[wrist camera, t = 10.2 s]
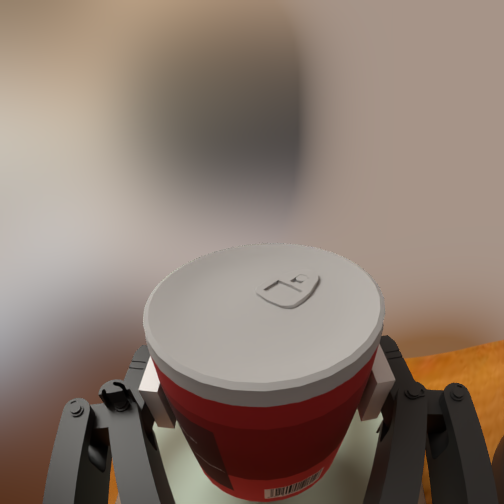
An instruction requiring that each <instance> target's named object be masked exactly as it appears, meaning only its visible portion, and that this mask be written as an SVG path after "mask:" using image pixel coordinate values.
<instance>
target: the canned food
mask: <svg viewBox="0 0 504 504" xmlns="http://www.w3.org/2000/svg"><path fill="white" fill-rule="evenodd" d="M384 316H385V305H384V297H383V295H382V293H381V290H380V288H379V286H378V284H377V283H376V282H375V280H374V279H373V278H372V277H371V275H370V274H368V273H367V272H366V271H365V270H364V269H363V268H361V267H360V266H359V265H357V264H355V263H354V262H352V261H350V260H349V259H347V258H345V257H342V256H340V255H337V254H335V253H332V252H329V251H326V250H322V249H319V248H314V247H309V246H302V245H296V244H284V243H263V244H252V245H244V246H238V247H232V248H228V249H224V250H220V251H216V252H213V253H210V254H208V255H205V256H202V257H199V258H197V259H195V260H193V261H191V262H189V263H187V264H185V265H182V266H181V267H179V268H178V269H176V270H175V271H173V272H172V273H170V274H169V275H168V276H167V277H166V278H165V279H163V280H162V281H161V282H160V283H159V284H158V285H157V287H156V288H155V289H154V291H153V292H152V294H151V295H150V296H149V298H148V301H147V304H146V306H145V309H144V318H143V326H144V330H145V334H146V342H147V346H148V349H149V353H150V356H151V359H152V361H153V364H154V367H155V369H156V373H157V376H158V379H159V381H160V384H161V386H162V388H163V391H164V393H165V395H166V398H167V400H168V402H169V405H170V407H171V409H172V411H173V413H174V415H175V418H176V420H177V422H178V424H179V426H180V428H181V430H182V432H183V434H184V436H185V438H186V440H187V442H188V444H189V446H190V448H191V450H192V452H193V454H194V456H195V458H196V459H197V461H198V463H199V465H200V467H201V468H202V470H203V472H204V474H205V475H206V476H207V477H208V479H209V480H210V481H211V482H212V483H213V484H214V485H215V486H217V487H218V488H219V489H221V490H222V491H223V492H225V493H227V494H229V495H232V496H234V497H236V498H240V499H244V500H248V501H255V502H271V501H278V500H284V499H287V498H290V497H293V496H296V495H298V494H300V493H302V492H304V491H305V490H307V489H309V488H311V487H312V486H313V485H314V484H315V483H317V482H318V481H319V480H320V479H321V478H322V477H323V476H324V474H325V473H326V472H327V470H328V469H329V468H330V466H331V464H332V462H333V460H334V458H335V456H336V454H337V452H338V450H339V448H340V446H341V444H342V442H343V439H344V437H345V435H346V433H347V431H348V428H349V426H350V424H351V422H352V419H353V417H354V414H355V412H356V410H357V407H358V405H359V402H360V400H361V397H362V395H363V392H364V389H365V387H366V384H367V381H368V379H369V376H370V373H371V370H372V367H373V364H374V360H375V357H376V353H377V350H378V346H379V343H380V339H381V335H382V331H383V320H384Z"/></svg>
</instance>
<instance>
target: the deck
mask: <svg viewBox="0 0 504 504" xmlns="http://www.w3.org/2000/svg"><path fill="white" fill-rule="evenodd" d="M382 420H383V417H382V414H381V412H380V414H379V416H378V418H377V419H372V420H366V421H361V420H360V416H359V412H358V409H357V410H356V412H355V414H354V417H353V419H352V422H351V424H350V426H349V428H348V431H347V433H346V435H345V437H344V439H343V442H342V444H341V446H340V448H339V450H338V452H337V454H336V456H335V458H334V460H333V462H332V464H331V466H330V468H329V469H328V470H327V472H326V473H325V474H324V476H323V477H322V478H321V479H320V480H319V481H318V482H317V483H315V484H314V485H313V486H312V487H311V488H309V489H307V490H305V491H304V492H302V493H300V494H298V495H296V496H293V497H290V498H287V499H284V500H278V501H271V502H255V501H248V500H244V499H240V498H236V497H234V496H232V495H229V494H227V493H225V492H223V491H222V490H221V489H219V488H218V487H217V486H215V485H214V484H213V483H212V482H211V481H210V480H209V479H208V477H207V476H206V475H205V474H204V472H203V470H202V468H201V467H200V465H199V463H198V461H197V459H196V458H195V456H194V454H193V452H192V450H191V448H190V446H189V444H188V442H187V440H186V438H185V436H184V434H183V432H182V430H181V428H180V426H179V424H178V422H177V420H176V425H175V429H172V428H163V427H158V426H157V424H156V422H155V421H154V425H153V430H154V432H155V435H156V439H157V443H158V447H159V451H160V455H161V458H162V462H163V465H164V469H165V472H166V475H167V479H168V482H169V485H170V488H171V491H172V494H173V497H174V500H175V503H176V504H363V500H364V497H365V493H366V490H367V486H368V482H369V478H370V474H371V470H372V466H373V461H374V457H375V452H376V447H377V442H378V437H379V433H376V431H377V429H378V427H379V425H380V424H381V422H382ZM115 504H121V501H120V497H119V493H118V496H117V500H116V503H115ZM418 504H426V501H425V496H424V491H423V486H422V481H421V488H420V494H419V500H418Z"/></svg>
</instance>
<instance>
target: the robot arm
mask: <svg viewBox="0 0 504 504" xmlns="http://www.w3.org/2000/svg"><path fill="white" fill-rule="evenodd" d="M99 396H100V398H101V399H102V401H103V404H93V405H90V404H89V403H88V402H87V401H86V400H85V399H82V398H75V399H73V400H70V401H69V402H68V403H67V404H66V405H65V407H64V410H63V413H62V417H61V420H60V424H59V428H58V431H57V436H56V439H55V443H54V447H53V451H52V456H51V460H50V465H49V470H48V475H47V481H46V486H45V492H44V498H43V504H108V494H109V481H110V470H111V461H112V459H113V465H114V471H115V477H116V482H117V487H118V492H119V497H120V501H121V504H176V503H175V500H174V497H173V494H172V491H171V488H170V485H169V482H168V479H167V475H166V472H165V469H164V465H163V462H162V458H161V455H160V451H159V447H158V443H157V439H156V435H155V432H154V430H153V425H154V421H155V422H156V424H157V426H158V427H163V428H172V429H175V425H176V418H175V415H174V413H173V411H172V409H171V407H170V405H169V402H168V400H167V398H166V395H165V393H164V391H163V388H162V386H161V384H160V381H159V379H158V376H157V373H156V369H155V367H154V364H153V361H152V359H151V356H150V353H149V349H148V346H146V345H142V346H141V347H140V348H139V349H138V350H137V351H136V352H135V354H134V356H133V359H132V362H131V364H130V366H129V369H128V371H127V374H126V376H125V379H124V381H122V380H111V381H108V382H106V383H105V384H104V385H103V386H102V387H101V388H100V390H99ZM357 409H358V412H359V416H360V420H361V421H366V420H372V419H377V418H378V416H379V414H380V412H381V414H382V417H383V420H382V422H381V424H380V425H379V427H378V429H377V431H376V433H379V437H378V442H377V447H376V452H375V457H374V461H373V466H372V470H371V474H370V478H369V482H368V486H367V490H366V493H365V497H364V500H363V504H418V500H419V494H420V488H421V481H422V474H423V466H424V456H425V450H426V457H427V463H428V470H429V477H430V485H431V494H432V504H504V436H503V437H502V439H501V441H500V443H499V445H498V447H497V449H496V451H495V454H494V457H493V461H492V466H491V462H490V458H489V454H488V450H487V447H486V443H485V439H484V436H483V432H482V429H481V426H480V423H479V420H478V416H477V413H476V410H475V407H474V405H473V402H472V399H471V396H470V393H469V391H468V390H467V388H466V387H465V386H463V385H462V384H459V383H451V384H449V385H448V386H446V387H445V389H444V391H442V390H427V389H426V388H425V387H424V386H423V385H422V384H420V383H419V382H415V381H414V379H413V377H412V375H411V373H410V371H409V368H408V366H407V364H406V362H405V360H404V358H402V355H401V352H400V351H399V348H398V346H397V344H396V343H395V341H394V340H393V339H391V338H390V337H389V336H388V335H387V336H381V339H380V343H379V346H378V350H377V353H376V357H375V360H374V364H373V367H372V370H371V373H370V376H369V379H368V381H367V384H366V387H365V389H364V392H363V395H362V397H361V400H360V402H359V405H358V407H357Z"/></svg>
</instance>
